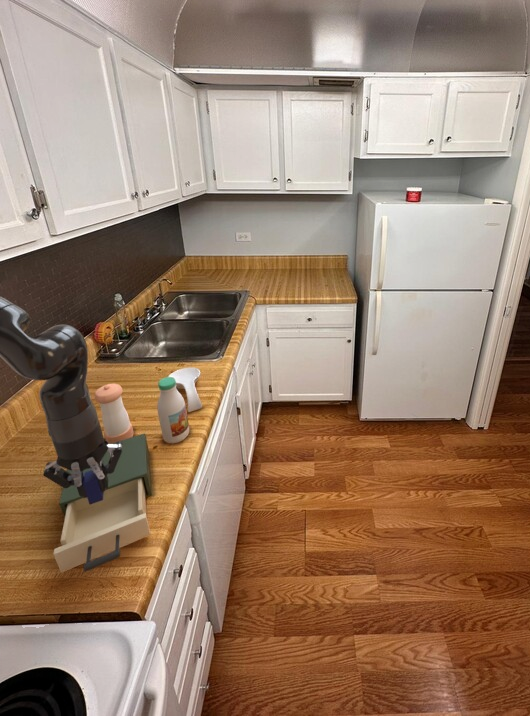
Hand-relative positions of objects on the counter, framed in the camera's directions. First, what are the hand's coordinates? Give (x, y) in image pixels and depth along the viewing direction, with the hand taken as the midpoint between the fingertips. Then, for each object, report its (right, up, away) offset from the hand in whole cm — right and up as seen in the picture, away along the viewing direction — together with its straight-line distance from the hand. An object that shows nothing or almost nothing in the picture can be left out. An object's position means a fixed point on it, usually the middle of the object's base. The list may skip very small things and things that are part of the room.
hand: (95, 491), depth 69 cm
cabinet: (-7, -9, +17) cm, 20 cm away
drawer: (0, -13, +5) cm, 13 cm away
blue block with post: (-1, -1, +2) cm, 2 cm away
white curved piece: (-1, +5, +53) cm, 53 cm away
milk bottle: (+3, -3, +34) cm, 34 cm away
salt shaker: (-14, -3, +32) cm, 35 cm away
